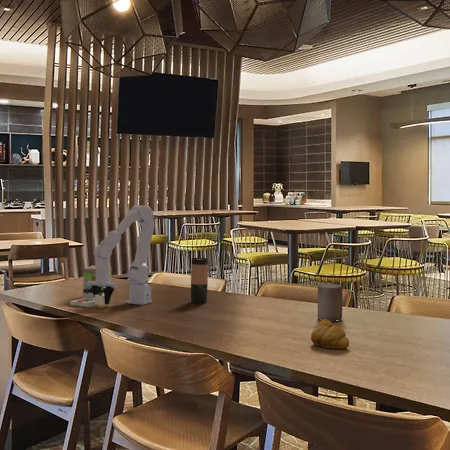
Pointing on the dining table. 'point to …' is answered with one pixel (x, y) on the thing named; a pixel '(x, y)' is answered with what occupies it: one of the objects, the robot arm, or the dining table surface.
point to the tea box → (91, 276)
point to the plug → (100, 300)
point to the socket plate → (83, 302)
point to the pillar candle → (330, 302)
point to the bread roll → (329, 335)
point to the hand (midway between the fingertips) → (102, 303)
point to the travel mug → (199, 280)
